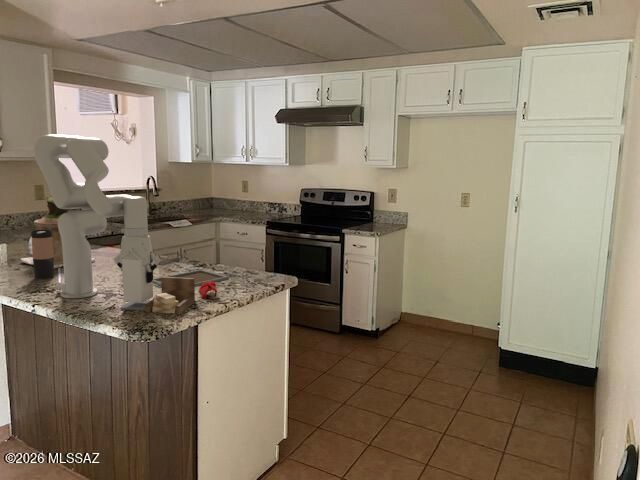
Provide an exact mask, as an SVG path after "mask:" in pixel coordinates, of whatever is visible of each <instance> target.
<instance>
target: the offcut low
mask: <svg viewBox="0 0 640 480" xmlns="http://www.w3.org/2000/svg"><path fill="white" fill-rule="evenodd" d="M152 308H153V311H152V313H157V312H158V313H159V314H170V313H173V314H175V315H176V308H174V309H166V308H160V307H152ZM173 314H172V315H173Z"/></svg>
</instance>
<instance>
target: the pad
mask: <svg viewBox="0 0 640 480" xmlns="http://www.w3.org/2000/svg"><path fill="white" fill-rule="evenodd" d="M150 301H151V300H146V301H144V302H132V301H128V302H127V303H125V304H124V305H122V306H120V310H128V311H131V310H132V311H145V304H147V303H148V302H150Z"/></svg>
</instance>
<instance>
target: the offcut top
mask: <svg viewBox="0 0 640 480" xmlns="http://www.w3.org/2000/svg"><path fill="white" fill-rule="evenodd" d="M161 293H162V292H161ZM161 293H158V294H155V298H156V300H157V301H160V302H162V303H165V304H168V303H173V302H176V299H175V296H172V295H169V294H167V293H162V294H161Z"/></svg>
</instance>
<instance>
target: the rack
mask: <svg viewBox="0 0 640 480" xmlns="http://www.w3.org/2000/svg"><path fill="white" fill-rule="evenodd" d="M160 277H161V288H160V289H161V293H160V294H162V293H167V294H169V295H172V296H175V299H176V300H177V301H179V304H178V305H177V306H176V313H175V315H177V316H180V315H182V314H183V313H184V312H185V311H186V310H187V309H188V308H190V307H191V306H192V305H193V304H194V303H196V301H195V300H196V299H195V298H196V295H195V294H196V292H195V291H196V290H195V289H196V286H195V282H194V278H180V277H165V276H160ZM154 300H156V297H153V298H152V299H150V300H149V301H150V302H148V303H147V304H145V314H150V313H151V312H153V308H152V307H154Z"/></svg>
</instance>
